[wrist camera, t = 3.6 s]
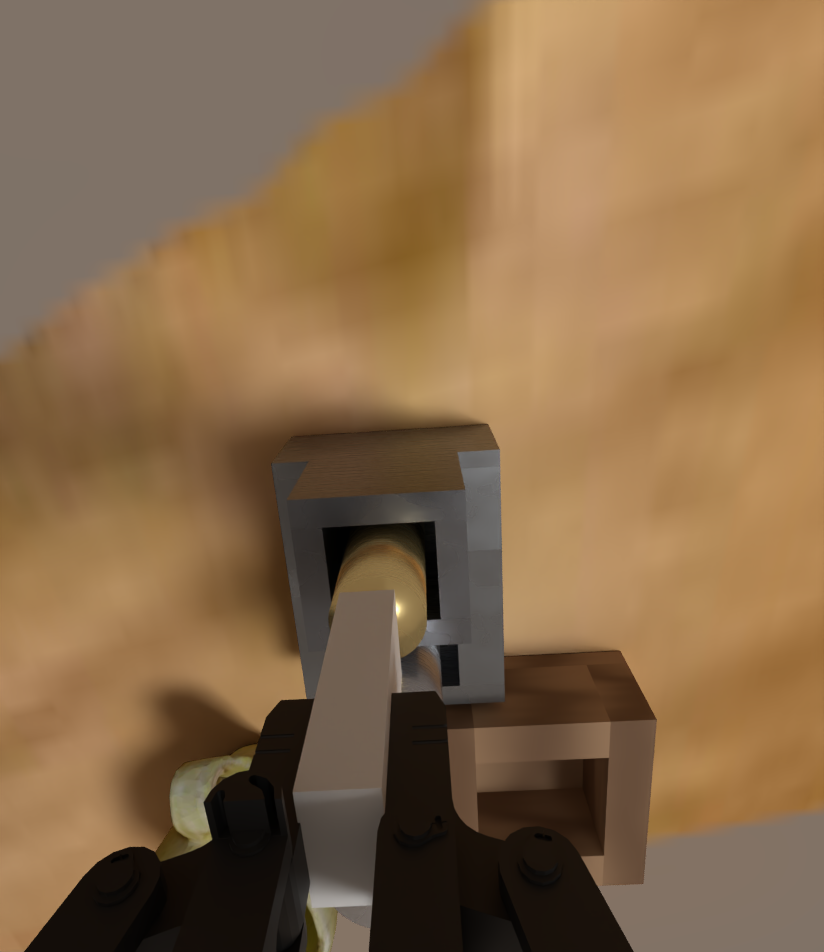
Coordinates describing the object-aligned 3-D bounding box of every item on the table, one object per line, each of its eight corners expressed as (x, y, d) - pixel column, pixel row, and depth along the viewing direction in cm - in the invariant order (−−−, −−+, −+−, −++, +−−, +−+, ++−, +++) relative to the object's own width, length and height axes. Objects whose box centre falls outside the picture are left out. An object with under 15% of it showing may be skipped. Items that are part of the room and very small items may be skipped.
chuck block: (321, 657, 31) (285, 803, 23) (290, 430, 27) (232, 503, 19) (494, 649, 31) (523, 792, 22) (488, 417, 27) (520, 486, 18)
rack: (437, 806, 35) (440, 891, 30) (427, 660, 31) (429, 730, 27) (612, 798, 34) (643, 883, 29) (620, 650, 31) (656, 719, 26)
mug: (387, 899, 34) (301, 1087, 25) (235, 853, 38) (109, 1005, 28) (388, 699, 33) (296, 821, 23) (229, 669, 36) (92, 766, 27)
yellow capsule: (357, 556, 24) (333, 665, 17) (350, 491, 23) (322, 580, 17) (426, 552, 24) (429, 660, 17) (422, 487, 23) (423, 574, 16)
